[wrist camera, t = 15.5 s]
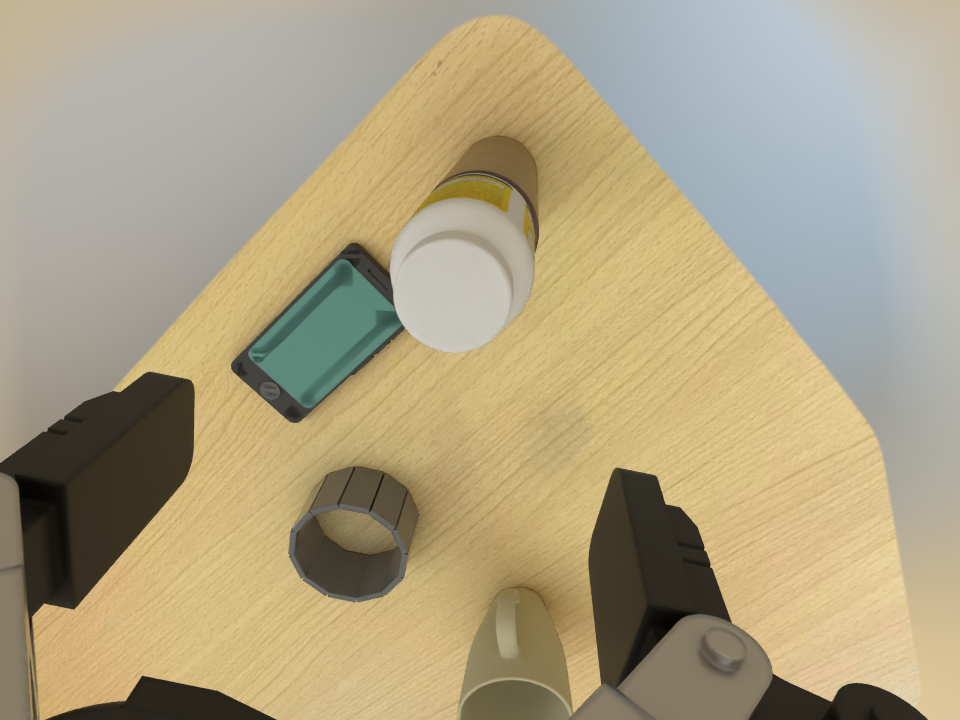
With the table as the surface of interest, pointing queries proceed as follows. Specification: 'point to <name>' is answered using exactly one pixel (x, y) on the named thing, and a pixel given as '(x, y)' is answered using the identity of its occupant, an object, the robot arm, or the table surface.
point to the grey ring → (346, 569)
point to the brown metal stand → (503, 169)
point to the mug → (516, 664)
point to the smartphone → (322, 335)
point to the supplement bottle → (464, 263)
